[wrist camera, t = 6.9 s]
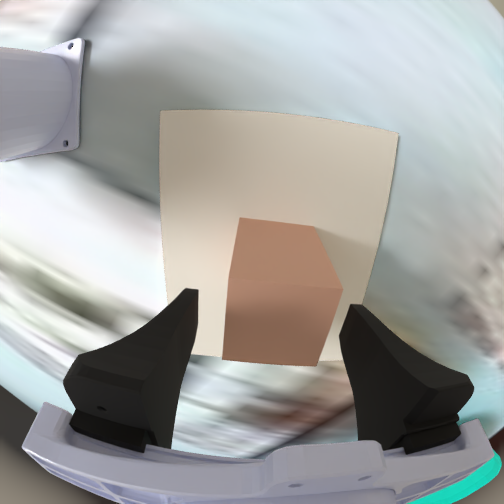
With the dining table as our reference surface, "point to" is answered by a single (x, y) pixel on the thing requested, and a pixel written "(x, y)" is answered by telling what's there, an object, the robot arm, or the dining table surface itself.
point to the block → (279, 295)
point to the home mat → (268, 200)
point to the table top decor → (464, 484)
